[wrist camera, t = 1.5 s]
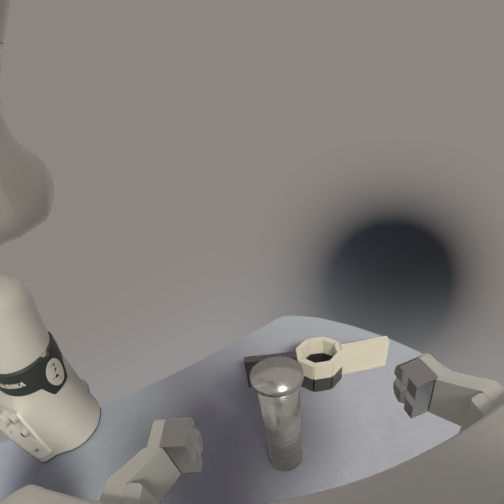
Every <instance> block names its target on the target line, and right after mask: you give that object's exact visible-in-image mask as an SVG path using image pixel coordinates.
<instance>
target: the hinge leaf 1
mask: <svg viewBox="0 0 504 504" xmlns="http://www.w3.org/2000/svg"><path fill="white" fill-rule="evenodd" d="M277 356H283V357H289V358H292V359H294V360H296V361H297V354H296V352H288V353H280V354H271V355H262V356H252V357H244V364H245V369H246V374H247V378H248V383H249V387H252V386H251V382H250V372H251V370H252V368H253V367H254V366H255V365H256V364H257V363H258V362H260V361H262V360H264V359H267V358H270V357H277ZM332 358H333V356H330V355H328V354H325V353H317V354H311V355H309V356H308V357H307V358H306V359H307V360H309V361H312V362H314V363H318V362H324V361H330V360H331V359H332ZM341 377H342V367H341V368H340V369H339V370H338V372H337V373H336V374H335V375H334V376H332V377H329V378H323V379H317V380H314V379H313V380H312V379H310V378H308V377H306V376H304V379H303V383H302V385H301V386H303V387H305V388H307V389H309V390H311V391H314V392H316V391H322V390H328V389H331V388H333V387H334V386H335V385H336V384H337V383H338V381H339V380H340V379H341Z"/></svg>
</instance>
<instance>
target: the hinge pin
mask: <svg viewBox="0 0 504 504" xmlns="http://www.w3.org/2000/svg"><path fill="white" fill-rule="evenodd" d="M303 379H304V372H303V368H302V366H301V364H300V363H299V362H298V361H296V360H294V359H292V358H289V357H283V356H277V357H270V358H267V359H264V360H262V361H260V362H258V363H257V364H256V365H255V366H254V367H253V368H252V370H251V372H250V382H251V386H252V388H253V389H254V390H255V391H256V392H257V393H258V398H259V403H260V409H261V414H262V419H263V424H264V429H265V434H266V439H267V445H268V450H269V455H270V460H271V463H272V465H273V466H274V467H275V468H276V469H278V470H282V471H288V470H292V469H294V468H296V467H297V466H298V465H299V464H300V463H301V460H302V448H301V415H300V391H299V387H300V386H301V385H302V383H303Z"/></svg>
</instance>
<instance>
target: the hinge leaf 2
mask: <svg viewBox="0 0 504 504" xmlns="http://www.w3.org/2000/svg"><path fill="white" fill-rule="evenodd" d="M388 346H389V339H388V337H387V336H383V337H378V338H373V339H368V340H363V341H358V342H353V343H347V344H342V345H340V343H339V342H338V341H335V340H333V339H330V338H327V337H324V338H323V337H317V338H310V339H307V340H305V341H304V342H302V343H301V344H300V345H299V346H298V347H297V348H296V354H297V361H298V362H299V363H300V364H301V366H302V368H303V372H304V376H306V377H308V378H310V379H312V380H313V379H314V380H317V379H323V378H329V377H332V376H334V375H335V374H336V373H337V372H338V370H339V369H340V368H341V367H342V374H347V373H352V372H357V371H362V370H367V369H371V368H376V367H380V366H384V365H385V363H386V358H387V352H388ZM317 353H325V354H328V355H330V356H333V358H332V359H331V360H330V361H324V362H318V363H314V362H312V361H309V360H307V359H306V358H307V357H308V356H309V355H311V354H317Z"/></svg>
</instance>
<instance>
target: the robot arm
mask: <svg viewBox="0 0 504 504" xmlns="http://www.w3.org/2000/svg"><path fill="white" fill-rule="evenodd" d="M9 5H10V0H0V69H1V58H2V51H3V44H4V39H5V32H6V26H7V19H8V12H9ZM53 197H54V185H53V179H52V176H51V173H50V170H49V168H48V167H47V165H46V163H45V162H44V161H43V160H42V159H41V158H40V157H39V156H38V155H37V154H35V153H34V152H32V151H30V150H28V149H27V148H25V147H24V146H23V145H21V144H20V143H19V142H18V141H17V140H16V139H15V137H14V136H13V135H12V133H11V132H10V130H9V129H8V126H7V124H6V122H5V120H4V117H3V113H2V109H1V102H0V246H1V245H3V244H6V243H8V242H10V241H13V240H15V239H17V238H20V237H21V236H23V235H24V234H26V233H27V232H29V231H30V230H32V229H34V228H35V227H37V226H38V225H40V224H41V223H42V222H44V221H46V219H47V217H48V216H49V213H50V211H51V207H52V204H53ZM394 374H395V375H396V377H397V378H396V379H395V381H394V386H393V388H394V393H395V396H396V398H397V399H398V401H399V402H401V403H404V404H405V405H404V410H405V411H406V412H407V414H408V415H409V417H410V418H414V417H416V416H418V415H420V414H423V413H425V412H427V411H428V412H430V413H432V414H435V415H437V416H439V417H441V418H444V419H446V420H448V421H451V422H453V423H455V424H458V425H460V426H461V428H460V431H459V433H458V434H457V435H455V436H453V437H451V438H450V439H448V440H446V441H445V442H443V443H441V444H439V445H437V446H436V447H434V448H432V449H430V450H428V451H426V452H424V453H422V454H420V455H418V456H416V457H414V458H412V459H410V460H408V461H405V462H403V463H401V464H399V465H397V466H394V467H392V468H390V469H387V470H385V471H382V472H380V473H377V474H375V475H372V476H369V477H367V478H364V479H361V480H358V481H355V482H352V483H349V484H346V485H343V486H340V487H336V488H333V489H329V490H326V491H322V492H318V493H314V494H310V495H306V496H302V497H297V498H293V499H288V500H283V501H277V502H271V503H265V504H504V388H503V387H502V386H501V385H500V384H499V383H498V382H497V381H493V380H489V379H484V378H479V377H475V376H470V375H466V374H461V373H457V372H453V371H451V372H448V371H447V370H446V369H445V368H444V367H442V366H441V365H440V364H439V363H438V362H437V361H436V360H435V359H434V358H433V357H432V356H431V355H430V354H428V353H425V354H423V355H421V356H419V357H417V358H414V359H412V360H410V361H407V362H405V363H403V364H400V365H398V366H396V368H395V373H394ZM99 418H100V408H99V404H98V403H97V401H96V399H95V398H94V397H93V396H92V395H91V394H90V392H89V386H88V384H87V383H86V382H85V381H84V380H80V378H79V377H78V376H77V374H76V372H75V371H74V370H73V368H72V367H71V365H70V364H69V363H68V361H67V359H66V358H65V356H64V355H62V353H61V351H60V350H59V347H58V344H57V342H56V341H55V339H54V338H53V336H52V335H51V333H50V332H48V331H47V330H46V328H45V325H44V323H43V321H42V318H41V316H40V314H39V312H38V309H37V307H36V304H35V302H34V299H33V297H32V294H31V292H30V290H29V289H28V287H27V286H26V285H25V284H24V283H23V282H21V281H20V280H18V279H15V278H12V277H7V276H0V430H1V431H2V432H3V433H4V434H6V435H7V436H8V437H9V438H10V439H12V440H13V441H14V442H15V443H17V444H18V445H19V446H20V447H22V448H23V449H24V450H26V451H27V452H28V453H30V454H31V455H32V456H34V457H35V458H36V459H38V460H39V461H41V462H45V461H48V460H49V459H51V458H52V457H54V456H55V455H57V454H59V453H62V452H66V451H69V450H72V449H74V448H76V447H78V446H80V445H81V444H82V443H84V442H85V441H86V440H87V439H88V438H89V437H90V436H91V435H92V433H93V432H94V430H95V429H96V427H97V425H98V422H99ZM202 451H203V439H202V436H201V433H200V431H199V430H198V429H196V428H195V422H194V420H193V418H192V417H181V418H167V419H155V420H154V421H153V425H152V428H151V432H150V436H149V440H148V443H147V447H146V448H143V449H141V450H140V451H139V452H138V453H137V454H136V455H135V456H133V457H132V458H131V459H130V460H129V461H128V462H127V463H125V464H124V465H123V466H122V467H121V468H120V469H118V470H117V471H116V472H115V473H114V474H113V475H111V476H110V477H109V478H108V479H107V480H106V483H105V486H104V490H103V493H102V496H101V499H100V502H99V501H94V500H89V499H84V498H79V497H75V496H71V495H67V494H63V493H59V492H56V491H52V490H49V489H46V488H43V487H40V486H37V485H27V486H24V487H22V488H20V489H18V490H17V491H15V492H13V493H12V494H10V495H8V496H6V497H5V498H4V499H3V500H2V501H1V502H0V504H160V501H161V500H162V499H163V498H164V496H165V495H166V494H167V493H168V491H169V490H170V489H171V487H172V486H173V485H174V484H175V482H176V481H177V480H178V478H179V477H180V476H181V473H192V472H202V460H203V459H202V457H201V456H200V454H201V453H202Z"/></svg>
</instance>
